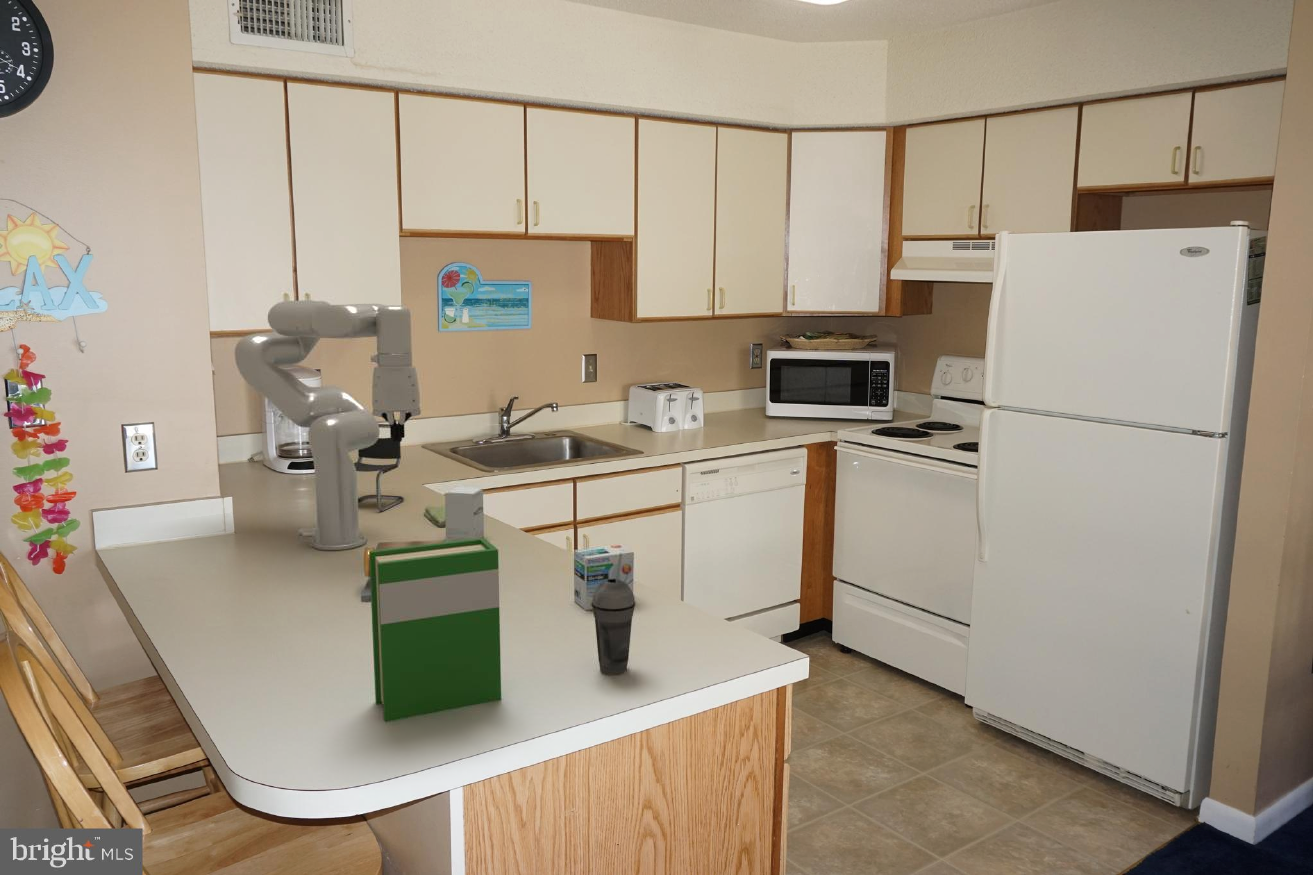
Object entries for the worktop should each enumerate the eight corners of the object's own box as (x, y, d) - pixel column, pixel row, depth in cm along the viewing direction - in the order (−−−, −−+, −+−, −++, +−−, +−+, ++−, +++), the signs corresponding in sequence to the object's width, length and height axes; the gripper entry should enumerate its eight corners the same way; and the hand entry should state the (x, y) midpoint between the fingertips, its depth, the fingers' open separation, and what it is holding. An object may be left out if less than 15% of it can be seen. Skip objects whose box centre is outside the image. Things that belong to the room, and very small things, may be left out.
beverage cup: (591, 661, 165) (590, 547, 162) (633, 660, 166) (634, 547, 162) (591, 679, 158) (591, 560, 155) (636, 678, 158) (637, 559, 155)
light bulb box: (586, 611, 190) (585, 558, 188) (572, 601, 196) (572, 549, 194) (635, 603, 195) (635, 551, 193) (620, 593, 201) (620, 543, 199)
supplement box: (473, 544, 236) (472, 493, 234) (445, 542, 237) (443, 492, 235) (485, 536, 243) (483, 487, 241) (457, 534, 245) (455, 485, 242)
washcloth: (468, 510, 272) (468, 499, 271) (485, 525, 256) (485, 513, 255) (421, 515, 266) (421, 503, 266) (435, 530, 250) (435, 518, 250)
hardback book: (384, 722, 142) (378, 564, 138) (375, 702, 149) (369, 551, 145) (501, 699, 150) (498, 549, 146) (487, 681, 157) (484, 537, 153)
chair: (408, 499, 282) (405, 424, 279) (380, 513, 266) (377, 434, 262) (366, 497, 285) (363, 423, 281) (336, 511, 268) (332, 432, 264)
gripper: (358, 362, 214) (361, 444, 217) (427, 362, 216) (430, 443, 219) (362, 359, 221) (366, 439, 224) (430, 359, 223) (432, 437, 227)
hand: (397, 440), depth 222 cm, fingers closed
